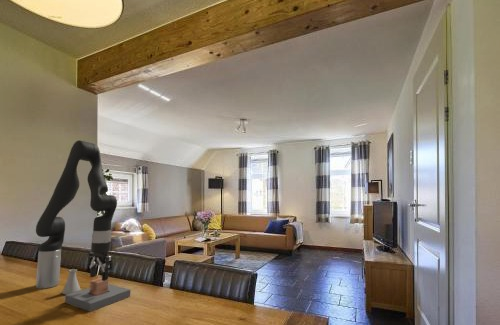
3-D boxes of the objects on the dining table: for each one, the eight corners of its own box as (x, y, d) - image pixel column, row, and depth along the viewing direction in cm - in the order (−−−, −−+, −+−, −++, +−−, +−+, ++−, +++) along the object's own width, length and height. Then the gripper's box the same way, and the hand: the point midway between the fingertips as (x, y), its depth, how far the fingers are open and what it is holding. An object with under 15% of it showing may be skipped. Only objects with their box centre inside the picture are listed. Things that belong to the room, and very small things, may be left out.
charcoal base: (64, 302, 118) (65, 295, 118) (105, 289, 133) (105, 282, 134) (90, 311, 109) (90, 303, 109) (130, 296, 125) (130, 289, 125)
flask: (71, 295, 125) (73, 272, 126) (57, 294, 127) (59, 271, 128) (84, 290, 132) (85, 268, 133) (71, 289, 134) (72, 267, 135)
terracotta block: (89, 300, 120) (90, 281, 121) (100, 296, 125) (101, 277, 125) (96, 302, 118) (97, 283, 119) (107, 298, 122) (108, 279, 123)
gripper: (83, 240, 124) (80, 278, 122) (103, 243, 117) (100, 284, 115) (99, 237, 130) (97, 273, 129) (119, 241, 123) (116, 279, 122)
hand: (98, 278), depth 122 cm, fingers open, 8 cm apart
